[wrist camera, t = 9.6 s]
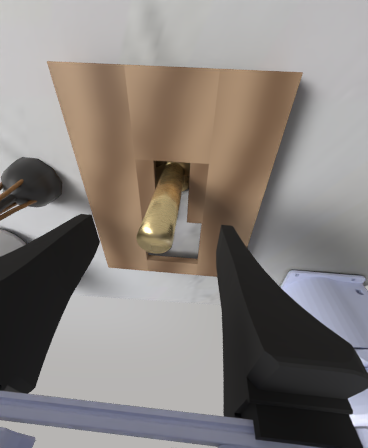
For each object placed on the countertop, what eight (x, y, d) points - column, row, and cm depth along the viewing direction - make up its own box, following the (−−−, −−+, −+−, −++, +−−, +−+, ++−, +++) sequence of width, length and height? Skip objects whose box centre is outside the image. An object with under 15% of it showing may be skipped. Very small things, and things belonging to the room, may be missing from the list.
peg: (195, 147, 17) (189, 211, 10) (196, 188, 20) (191, 266, 12) (151, 148, 18) (109, 210, 10) (156, 188, 20) (126, 264, 12)
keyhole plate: (289, 72, 14) (302, 72, 12) (234, 263, 26) (237, 278, 24) (66, 62, 14) (46, 61, 13) (115, 254, 27) (108, 267, 25)
